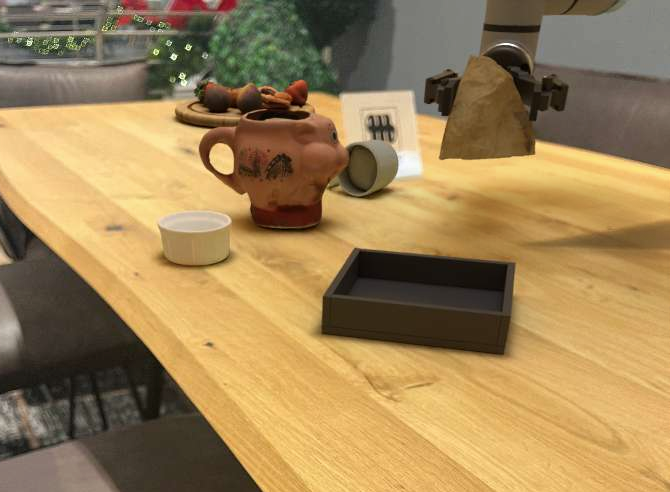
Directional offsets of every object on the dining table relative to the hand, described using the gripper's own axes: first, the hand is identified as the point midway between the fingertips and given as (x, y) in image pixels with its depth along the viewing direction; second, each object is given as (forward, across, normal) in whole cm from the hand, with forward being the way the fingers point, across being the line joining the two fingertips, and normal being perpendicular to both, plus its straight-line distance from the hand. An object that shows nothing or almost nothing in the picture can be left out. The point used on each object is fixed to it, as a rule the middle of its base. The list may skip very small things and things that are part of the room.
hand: (490, 104), depth 79 cm
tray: (+14, +3, -18) cm, 23 cm away
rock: (-5, 0, -6) cm, 8 cm away
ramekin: (+4, +32, -18) cm, 37 cm away
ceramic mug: (-35, +20, -18) cm, 44 cm away
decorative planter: (-13, +28, -18) cm, 36 cm away
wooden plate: (-93, +58, -18) cm, 111 cm away
